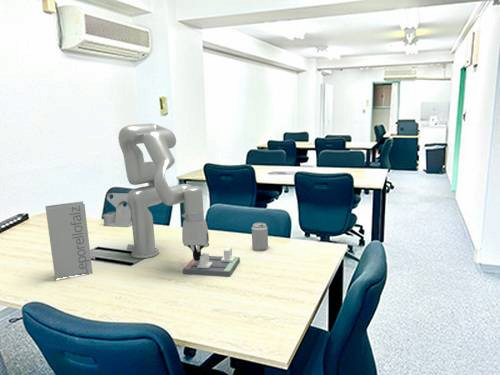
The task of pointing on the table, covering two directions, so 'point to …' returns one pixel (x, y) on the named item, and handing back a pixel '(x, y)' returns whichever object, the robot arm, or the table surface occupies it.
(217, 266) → the slider switch panel
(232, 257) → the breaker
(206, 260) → the breaker
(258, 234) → the can
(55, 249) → the brochure
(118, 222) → the phone holder
